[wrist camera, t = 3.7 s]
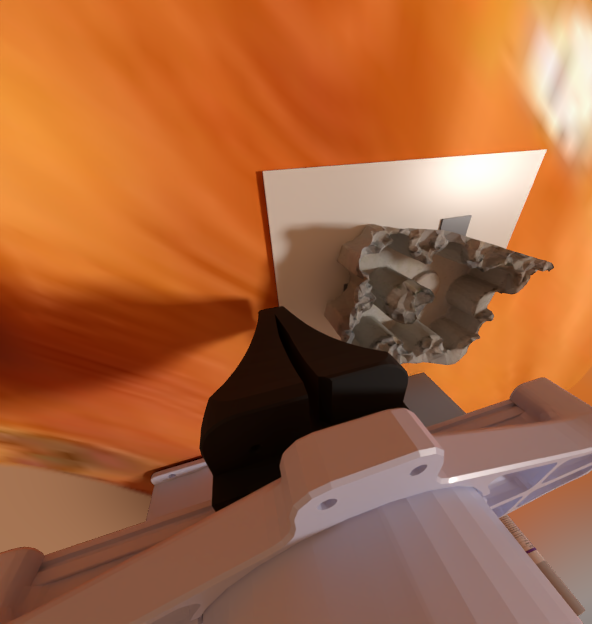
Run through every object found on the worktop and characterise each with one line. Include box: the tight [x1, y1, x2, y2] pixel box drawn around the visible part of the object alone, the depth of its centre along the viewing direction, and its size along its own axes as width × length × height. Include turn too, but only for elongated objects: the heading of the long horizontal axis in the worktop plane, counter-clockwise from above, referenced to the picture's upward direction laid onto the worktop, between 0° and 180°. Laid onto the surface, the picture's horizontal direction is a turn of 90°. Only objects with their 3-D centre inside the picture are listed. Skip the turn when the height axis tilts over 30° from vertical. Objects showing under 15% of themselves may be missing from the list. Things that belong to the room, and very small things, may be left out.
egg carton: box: [324, 224, 554, 365], centre depth 13 cm, size 11×8×4 cm
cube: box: [403, 373, 466, 427], centre depth 20 cm, size 5×5×5 cm
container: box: [499, 514, 585, 616], centre depth 32 cm, size 5×5×15 cm
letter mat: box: [262, 149, 547, 340], centre depth 15 cm, size 16×14×1 cm
